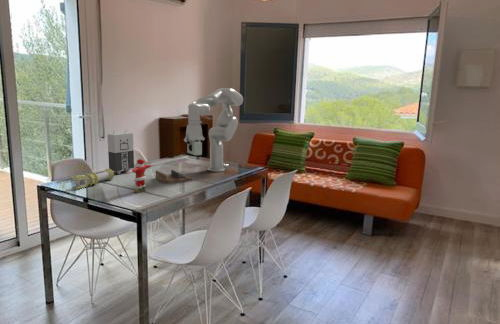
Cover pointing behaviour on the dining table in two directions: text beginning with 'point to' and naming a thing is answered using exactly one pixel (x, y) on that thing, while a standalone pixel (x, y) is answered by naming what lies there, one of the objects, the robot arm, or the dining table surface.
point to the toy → (120, 151)
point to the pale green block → (195, 148)
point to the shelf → (171, 177)
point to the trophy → (92, 178)
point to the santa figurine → (140, 175)
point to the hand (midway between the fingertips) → (194, 150)
